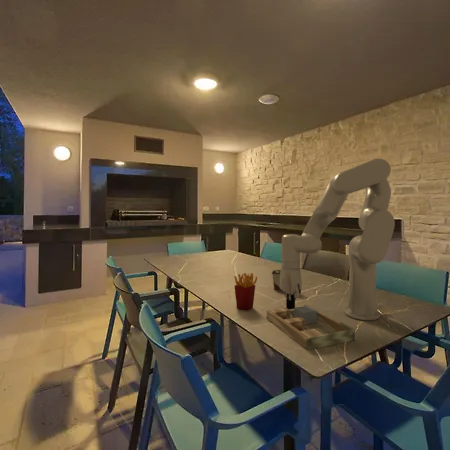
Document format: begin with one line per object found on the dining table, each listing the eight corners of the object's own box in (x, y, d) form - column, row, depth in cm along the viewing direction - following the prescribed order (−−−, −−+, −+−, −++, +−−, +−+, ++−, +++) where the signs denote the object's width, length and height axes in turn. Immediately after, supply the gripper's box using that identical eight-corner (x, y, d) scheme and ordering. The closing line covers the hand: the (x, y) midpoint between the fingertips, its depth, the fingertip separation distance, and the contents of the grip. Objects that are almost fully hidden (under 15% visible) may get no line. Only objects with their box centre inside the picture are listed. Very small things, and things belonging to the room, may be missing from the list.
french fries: (246, 312, 116) (246, 276, 115) (231, 307, 121) (230, 273, 120) (258, 306, 122) (258, 272, 121) (243, 302, 128) (243, 269, 127)
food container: (298, 291, 144) (299, 272, 143) (292, 294, 139) (292, 274, 139) (278, 286, 152) (278, 268, 151) (271, 289, 148) (271, 270, 147)
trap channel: (305, 312, 116) (306, 303, 116) (354, 340, 91) (354, 329, 91) (266, 318, 110) (266, 308, 110) (307, 349, 85) (307, 338, 85)
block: (307, 317, 111) (307, 305, 111) (316, 322, 106) (316, 310, 106) (294, 319, 109) (294, 307, 109) (303, 324, 104) (303, 312, 104)
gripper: (273, 262, 122) (273, 303, 123) (293, 269, 108) (292, 316, 109) (289, 260, 124) (288, 301, 125) (309, 267, 110) (309, 313, 111)
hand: (290, 308), depth 117 cm, fingers closed
